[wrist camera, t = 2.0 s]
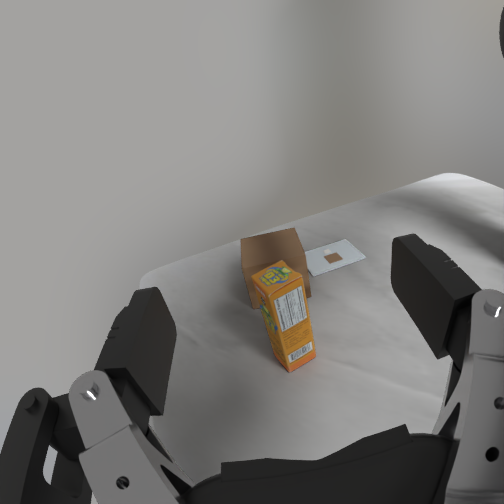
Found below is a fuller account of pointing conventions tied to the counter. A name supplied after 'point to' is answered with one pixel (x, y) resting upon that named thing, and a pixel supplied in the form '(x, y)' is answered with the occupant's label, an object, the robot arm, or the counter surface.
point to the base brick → (272, 257)
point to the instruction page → (332, 257)
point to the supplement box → (285, 314)
